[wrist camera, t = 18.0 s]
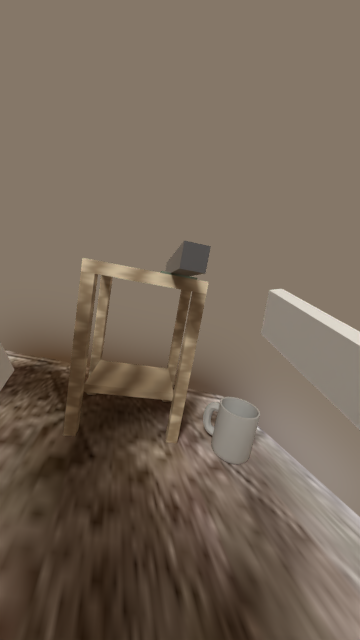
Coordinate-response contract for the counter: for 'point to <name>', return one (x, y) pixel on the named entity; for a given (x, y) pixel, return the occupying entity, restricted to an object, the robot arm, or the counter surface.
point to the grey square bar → (189, 259)
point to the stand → (122, 375)
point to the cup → (232, 428)
